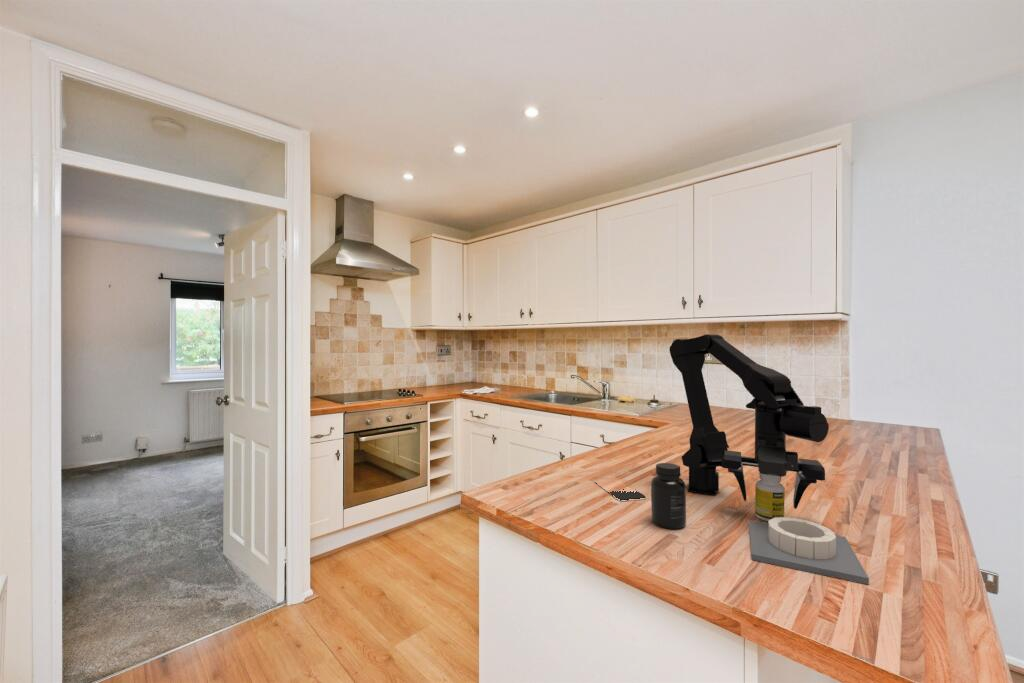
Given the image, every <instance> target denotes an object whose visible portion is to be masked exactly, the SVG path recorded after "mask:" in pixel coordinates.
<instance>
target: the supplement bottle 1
mask: <svg viewBox="0 0 1024 683" xmlns="http://www.w3.org/2000/svg"><path fill="white" fill-rule="evenodd" d="M655 475H656V476H654V477H653V478H652V479H651V482H650V486H651V488H650V489H651V490H650V494H651V495H650V496H651V497H650V498H651V500H650V501H651V504H650V505H651V506H650V508H651V509H650V510H651V521H652V523H653V524H654V525H656V526H657V527H660V528H663V529H666V530H667V529H668V530H679V529H682V528H683V529H684V527H685V526H686V524H687V495H686V494H687V491H686V486H687V485H686V483H685V481H684V480H683V479H682V478H680V477H681V475H682V474H681V466H680V465H678V464H675V463H671V462H670V463H669V462H660V463H657V464H656V465H655Z"/></svg>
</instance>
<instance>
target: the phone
mask: <svg viewBox="0 0 1024 683" xmlns="http://www.w3.org/2000/svg"><path fill="white" fill-rule="evenodd" d="M623 490H624V489H623ZM637 491H638V490H637ZM637 491H636V492H635V493H634V491H633V492H631V491H630V492H627V493H626V491H624V492H623V491H622V493H621V491H619V492H618V491H617V492H616V491H615V492H614V491H612V492H610V493H611V494H612V495H614V496H615V497H616V498H618V499H620V500H629V499H640V498H645V499H646V495H645V494H643V493H641V492H640V491H638V492H637Z"/></svg>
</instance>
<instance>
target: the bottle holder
mask: <svg viewBox="0 0 1024 683" xmlns="http://www.w3.org/2000/svg"><path fill="white" fill-rule="evenodd" d="M767 522H768V523H767ZM767 522H763V521H757V520H750V519H749V521H748V526H749V538H750V539H749V540H750V542H749V543H750V553H751V560H752V561H756V562H761V563H765V564H771V565H775V566H779V567H783V568H789V569H793V570H799V571H804V572H807V573H813V574H817V575H823V576H827V577H832V578H836V579H840V580H844V581H845V580H846V581H851V582H856V583H860V584H863V585H864V584H865V585H870V577H869V576H868V574H867V572H866V571H865V569H864V567H863V565H862V564H861V561H860V560H859V558H858V556H857V555H856V553H855V552H854V550H853V548H852V546H851V544H850V543H849V540H848V538H846V536H841V535H838V534H835V532H834V531H833V530H832V529H829V528H828V527H826V526H824V525H822V524H819V523H816V522H813V521H810V520H806V519H802V518H796V517H795V518H794V517H787V516H784V517H776V518H773V519H771V520H769V521H767Z"/></svg>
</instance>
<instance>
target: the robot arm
mask: <svg viewBox="0 0 1024 683" xmlns="http://www.w3.org/2000/svg"><path fill="white" fill-rule="evenodd" d="M709 354H710V355H711V356H712V357H714V358H715V359H716V360H718V362H720V363H722V365H724V366H725V367H726V368H727V369H729V370H730V371H731V372H733V373H734V374H735V375H736V376H738V377H739V378H740V380H741V381H742V385H743V387H744V388H745V389H746V391H747V392H748V393H749V394H750V395H751V396H752V397H753V399H752V400H751V401H750V402H748V403H747V404H745V408H747V409H750V410H751V409H752V410H754V457H750V456H742V452H741V451H735V450H728V449H729V448H730V445H729V444H728V441H727V434H726V432H725V431H723V430H722V431H719V430H718V428H717V427H716V426H715V424H714V419H713V415H712V410H711V406H710V401H709V397H708V393H707V388H706V385H705V380H704V375H703V368H704V365H705V362H706V356H705V355H709ZM669 355H670V357H671V360H672V363H673V365H674V366H675V368H677V370H678V371H679V372H680V373H681V376H682V382H683V385H684V390H685V395H686V399H687V404H688V405H687V406H688V408H689V414H690V419H691V424H692V430H691V433H690V436H689V449H688V450H686V452H685V453H684V454H682V455H681V460H682V464H683V466H685V467H688V486H687V492H690V493H691V492H692V493H697V494H703V495H710V496H716V495H717V492H719V489H720V486H719V485H720V484H719V483H720V481H719V480H720V476H719V475H720V473H719V472H718V471H717V467H720V468H723V469H727V472H728V473H732V474H733V475H734V477H735V479H736V481H737V483H738V486H739V489H740V492H741V495H742V497H743V501H745V502H746V501H747V490H746V481H745V473H744V466H746V467H755V468H757V469H758V473H759V474H760V473H762V474H766V475H767V474H773V475H778V476H781V477H785V476H787V472H796V473H795V482H794V483H795V484H794V491H793V499H792V500H793V509H794V510H795V509H796V510H797V508H798V506H799V504H800V501H801V499H802V497H803V494H804V493H805V491H806V490H807V488H808V486H810V485H811V484H817V482H818V481H822V482H823V481H825V480H826V470H825V467H824V466H823V465H822V463H821V462H820V461H819V460H816V459H809V458H808V459H807V458H800V457H799V454H798V452H796V451H789V450H787V449H786V446H787V445H786V444H787V442H786V440H787V437H792V438H796V439H800V440H801V439H802V440H807V441H810V442H814V443H815V442H816V443H821V442H823V441H824V440H825V439H826V437H827V435H828V433H829V428H830V425H829V423H828V420H827V418H826V416H825V414H824V413H822V407H821V406H816V405H812V406H811V405H809V406H808V405H805V404H804V402H803V401H802V399H800V398H801V397H800V396H799V395H798V394H797V392H796V390H795V389H794V388H793V386H792V384H791V383H792V381H791V379H790V378H789V377H788V376H787V375H786V374H783V373H781V372H779V371H777V370H775V369H772V368H770V367H767V366H763V365H761V364H760V363H757V362H755V361H754V360H752V359H751V358H750V357H748V356H747V355H746V354H745V353H744V352H742V351H740V350H739V349H738V348H736V347H735V346H734V345H732V343H729V342H728V341H727V340H726V339H725V338H724V337H723V336H722V335H721V334H713V333H712V334H705V333H704V335H701V336H700V335H699V336H697V337H692V338H678V339H677V338H676V339H675V340H673V341H672V343H671V345H670V346H669ZM786 436H787V437H786Z"/></svg>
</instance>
